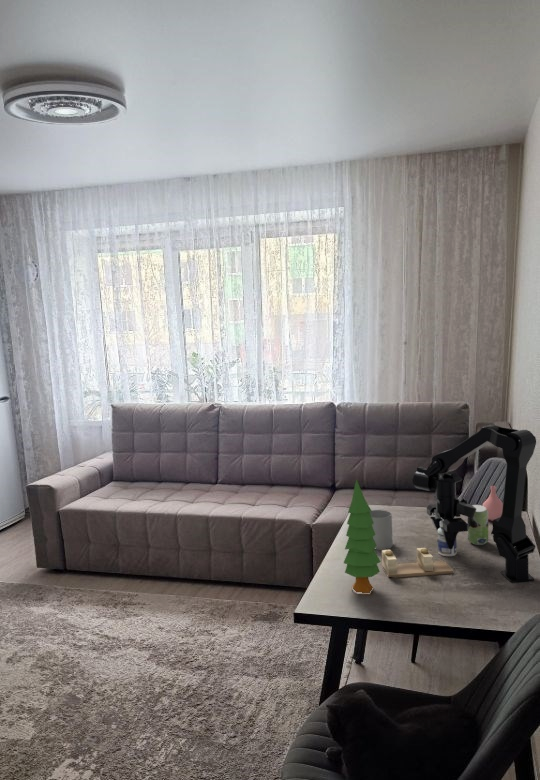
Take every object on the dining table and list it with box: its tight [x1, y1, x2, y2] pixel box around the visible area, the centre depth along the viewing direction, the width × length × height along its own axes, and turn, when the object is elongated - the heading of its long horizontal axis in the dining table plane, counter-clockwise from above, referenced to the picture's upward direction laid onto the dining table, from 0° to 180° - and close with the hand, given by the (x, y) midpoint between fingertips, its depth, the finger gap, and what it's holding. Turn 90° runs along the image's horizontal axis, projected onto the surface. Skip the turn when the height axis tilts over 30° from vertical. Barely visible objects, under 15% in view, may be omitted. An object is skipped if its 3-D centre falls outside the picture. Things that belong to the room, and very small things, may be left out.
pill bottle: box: [436, 520, 458, 557], centre depth 170 cm, size 5×5×10 cm
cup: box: [369, 509, 394, 550], centre depth 180 cm, size 8×8×10 cm
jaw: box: [416, 547, 434, 571], centre depth 159 cm, size 7×2×5 cm, turn 3°
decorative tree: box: [343, 479, 382, 593], centre depth 148 cm, size 10×9×30 cm
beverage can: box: [467, 504, 489, 546], centre depth 176 cm, size 6×7×12 cm
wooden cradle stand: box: [381, 549, 454, 578], centre depth 159 cm, size 7×18×6 cm, turn 93°
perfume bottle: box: [482, 485, 503, 522], centre depth 197 cm, size 8×8×12 cm
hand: (447, 545), depth 170 cm, fingers closed on pill bottle, 5 cm apart
